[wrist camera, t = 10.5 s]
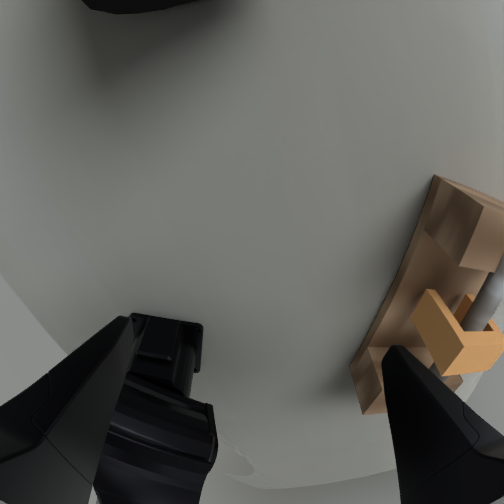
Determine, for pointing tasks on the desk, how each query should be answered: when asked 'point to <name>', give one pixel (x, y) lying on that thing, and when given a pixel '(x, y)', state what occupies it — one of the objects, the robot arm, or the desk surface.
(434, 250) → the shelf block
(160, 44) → the desk surface
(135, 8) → the black cylinder
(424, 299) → the tan u-shaped bracket
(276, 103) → the desk surface
